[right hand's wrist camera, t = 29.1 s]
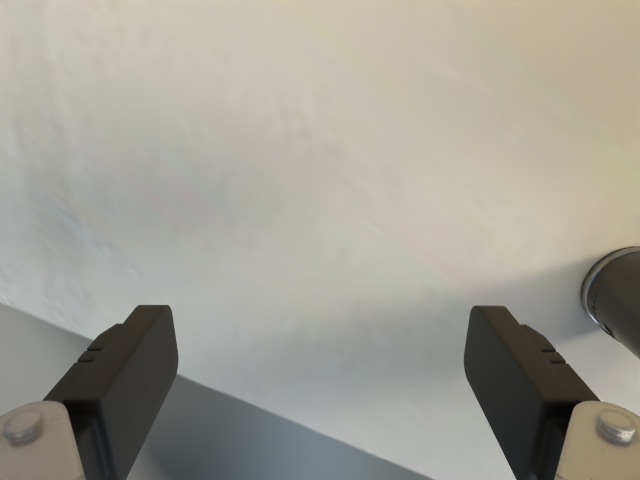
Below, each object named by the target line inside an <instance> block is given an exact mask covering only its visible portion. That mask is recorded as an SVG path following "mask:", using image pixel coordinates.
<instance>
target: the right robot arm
mask: <svg viewBox="0 0 640 480" xmlns="http://www.w3.org/2000/svg"><path fill="white" fill-rule="evenodd" d="M581 297H582V304H583V307H584V310H585V311H586V313H587V314H588V315H589V316H590V317H591V318H592V319H593V320H594V321H595V322H597V323H598V324H599V325H601V326H602V327H604V328H605V329H606V330H607V331H608V332H607V331H606V330H604V329H603V328H602V327H601V328H602V329H603V330H604V331H605V332H606V333H607V334H609V335H610V336H612V337H613V338H614V339H616V340H617V341H619V342H620V343H621V344H623V345H624V346H625V347H626V348H627V349H628V350H630V351H631V352H632V353H633V354H634V355H635V356H636V357H638V358H639V359H640V247H632V248H626V249H623V250H620V251H617V252H615V253H613V254H611V255H609V256H607V257H606V258H604V259H603V260H602V261H600V262H599V263H598V264H597V265H596V266H595V267H594V268H593V269H592V270H591V272H590V273H589V275H588V276H587V278H586V280H585V282H584V285H583V288H582V295H581ZM599 325H598V326H599ZM599 327H600V326H599ZM611 334H612V335H611ZM177 368H178V350H177V343H176V336H175V330H174V323H173V316H172V311H171V308H170V307H169V306H168V305H138V306H137V307H136V308H135V309H134V311H133V312H132V313H131V314H130V316H129V317H128V318H127V319H126V321H125V322H124V323H123V324H116V325H114V326H112V327H111V328H109V329H108V330H106V331H105V332H103V333H101V334H100V335H99V336H98V337H97V338H96V339H95V340H94V341H93V343H92V344H91V345H90V346H89V347H88V348H87V351H85V352H84V353H83V354H82V355H81V356H80V358H79V359H78V362H77V363H74V365H73V366H72V367H71V368H70V369H69V370H68V372H67V373H66V374H65V375H64V376H63V377H62V378H61V380H60V381H59V382H58V383H57V384H56V385H55V387H54V388H53V389H52V390H51V391H50V392H49V394H48V395H47V396H46V397H45V398H44V399H43V401H39V402H33V403H29V404H26V405H23V406H20V407H18V408H15V409H13V410H11V411H9V412H7V413H6V414H4V415H2V416H1V417H0V480H126V478H127V476H128V474H129V472H130V470H131V468H132V466H133V464H134V462H135V459H136V457H137V455H138V453H139V451H140V449H141V447H142V445H143V443H144V441H145V439H146V437H147V435H148V433H149V431H150V429H151V427H152V424H153V422H154V420H155V418H156V416H157V414H158V412H159V410H160V408H161V406H162V404H163V402H164V400H165V398H166V396H167V394H168V391H169V389H170V387H171V385H172V383H173V381H174V379H175V376H176V373H177ZM464 368H465V373H466V377H467V379H468V382H469V384H470V386H471V388H472V390H473V392H474V394H475V396H476V398H477V400H478V402H479V404H480V406H481V408H482V410H483V412H484V414H485V416H486V418H487V420H488V422H489V424H490V426H491V428H492V430H493V433H494V435H495V437H496V439H497V441H498V443H499V445H500V447H501V449H502V451H503V453H504V455H505V457H506V459H507V461H508V463H509V465H510V467H511V469H512V471H513V473H514V475H515V477H516V479H517V480H640V417H639V416H638V415H636V414H634V413H633V412H631V411H629V410H627V409H625V408H622V407H620V406H617V405H614V404H611V403H607V402H601V401H600V400H599V399H598V398H597V396H596V395H595V394H594V393H593V392H592V391H591V390H590V388H589V387H588V386H587V385H586V384H585V383H584V381H583V380H582V379H581V378H580V377H579V376H578V375H577V373H576V372H575V371H574V370H573V369H572V368H571V367H570V365H569V364H566V362H565V360H564V359H563V357H562V356H561V355H560V354H559V353H558V352H556V349H555V348H554V347H553V346H552V345H551V344H550V342H549V341H548V340H547V339H546V338H545V337H544V336H543V335H541V334H540V333H538V332H537V331H535V330H534V329H532V328H530V327H529V326H527V325H520V324H519V323H518V322H517V321H516V319H515V318H514V317H513V316H512V314H511V313H510V312H509V311H508V309H507V308H506V307H504V306H474V307H473V308H472V310H471V313H470V318H469V325H468V332H467V339H466V345H465V352H464Z"/></svg>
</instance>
